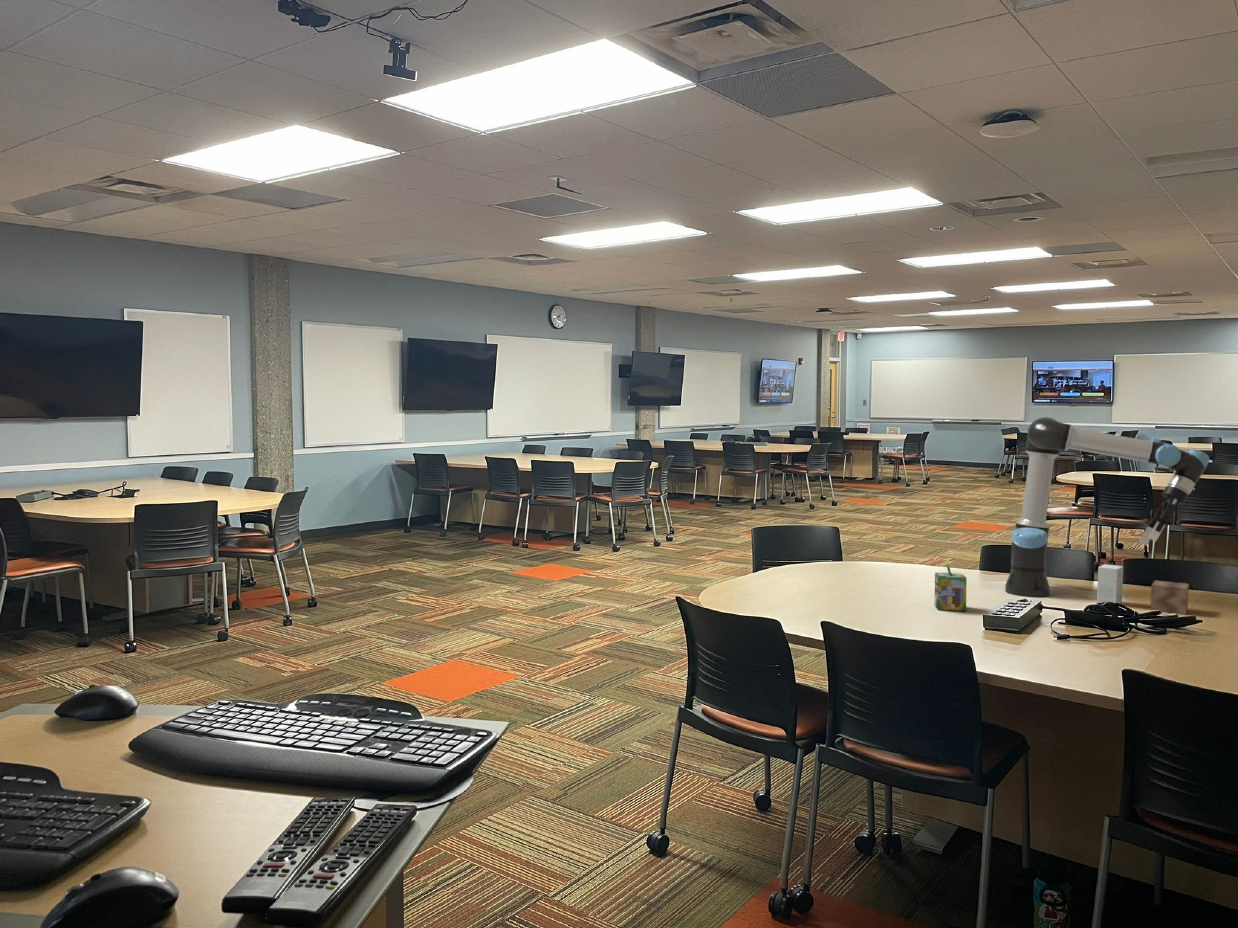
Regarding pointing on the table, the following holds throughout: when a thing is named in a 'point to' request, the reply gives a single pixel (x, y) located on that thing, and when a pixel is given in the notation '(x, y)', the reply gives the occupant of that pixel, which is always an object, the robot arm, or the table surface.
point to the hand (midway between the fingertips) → (1147, 541)
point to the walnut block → (1169, 597)
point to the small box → (1110, 583)
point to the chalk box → (950, 591)
